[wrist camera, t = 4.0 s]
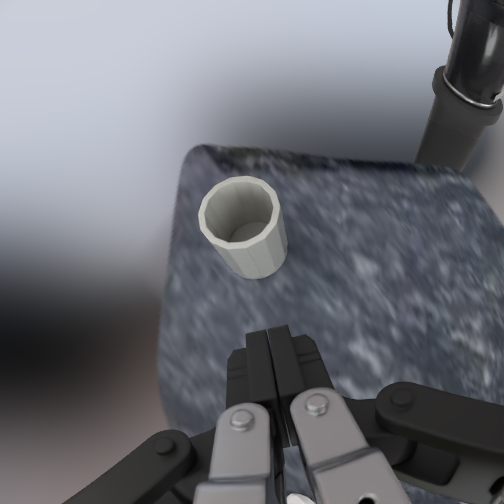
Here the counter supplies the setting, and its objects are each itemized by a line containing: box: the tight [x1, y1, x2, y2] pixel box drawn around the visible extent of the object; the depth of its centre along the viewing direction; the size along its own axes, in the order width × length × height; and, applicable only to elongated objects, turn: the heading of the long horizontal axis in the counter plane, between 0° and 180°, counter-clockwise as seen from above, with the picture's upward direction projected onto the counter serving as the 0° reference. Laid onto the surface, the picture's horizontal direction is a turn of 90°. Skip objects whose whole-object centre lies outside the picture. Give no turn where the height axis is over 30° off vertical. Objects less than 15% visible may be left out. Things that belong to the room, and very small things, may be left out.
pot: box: [198, 176, 288, 279], centre depth 26 cm, size 6×6×8 cm
